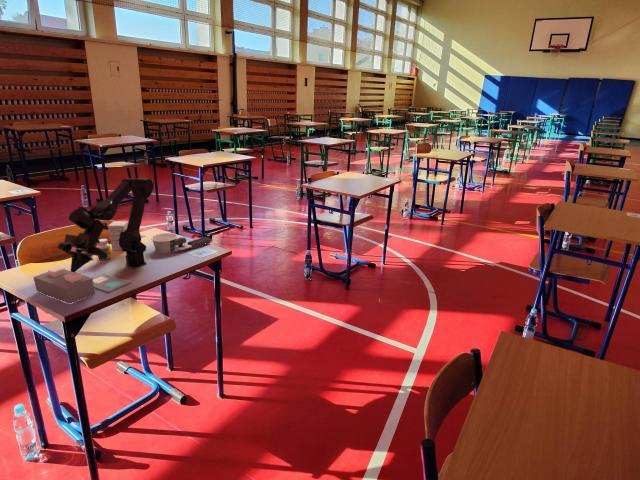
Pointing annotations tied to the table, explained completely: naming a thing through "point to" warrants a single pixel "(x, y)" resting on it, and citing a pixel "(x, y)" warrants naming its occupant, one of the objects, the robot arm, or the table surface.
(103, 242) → the supplement bottle
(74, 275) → the button
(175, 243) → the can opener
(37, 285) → the console
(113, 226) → the white square tower
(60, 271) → the button
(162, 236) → the food container
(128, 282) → the pattern card
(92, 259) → the robot arm
